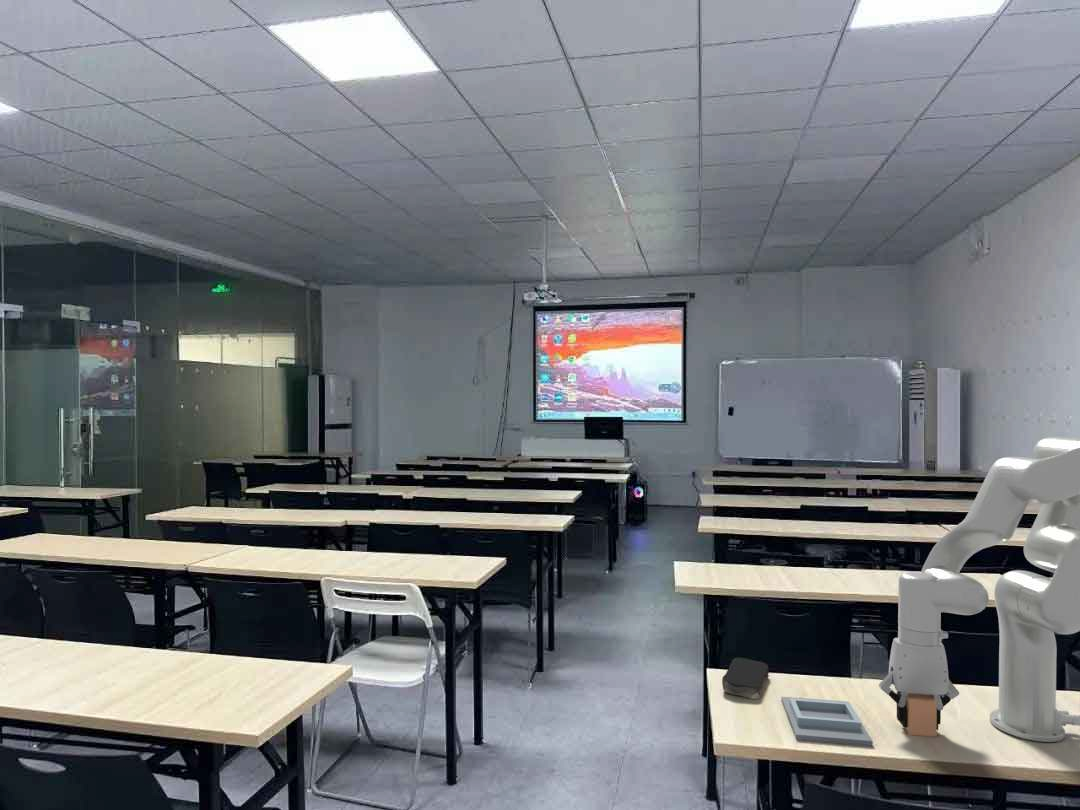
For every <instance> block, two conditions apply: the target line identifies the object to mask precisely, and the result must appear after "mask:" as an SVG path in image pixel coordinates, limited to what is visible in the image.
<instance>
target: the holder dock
mask: <svg viewBox="0 0 1080 810" xmlns="http://www.w3.org/2000/svg"><path fill="white" fill-rule="evenodd" d="M780 698H781V700H780V702H781V704H782V707H783V710H784V712H785V714H786V717H787V719H788V723H789V725H790V727H791V730H792V733H793V735H794V739H795V740H797V741H805V742H806V741H808V742H817V743H818V742H819V743H820V742H821V743H830V744H831V743H832V744H843V745H853V746H866V747H873V746H874V740H873V738H872V737H871V736H870V734H869V733H868V731H867V730H866V728H865V726H864V725H863V722H862V721H861V719H860V717H859V716H858V714H857V713H856V711H855V709H854V708H853V706H852V705H851V703H850V702H849V701H845V700H844V701H843V700H831V699H820V698H805V697H793V696H791V697H790V696H781V697H780Z"/></svg>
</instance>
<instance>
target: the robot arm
mask: <svg viewBox="0 0 1080 810" xmlns="http://www.w3.org/2000/svg"><path fill="white" fill-rule="evenodd" d="M991 465H992V466H990V468H989V470H988V471H987V472H988V473H987V474H986V476H985V478H984V480H983V482H982V484H981V487H980V488H979V490H978V492H977V494H976V497H975V498H974V500H973V502H972V505H971V507H970V509H969V510H968V513H967V514H966V516H965V518H964V519H963V520H962V521H961V522H959V523H958V524H957V525H955V526H954V527H953V528H952V529H951V530H949V531H948V532H947V533H946V534H945V535H943V536H942V537H941V538H940V539H939V540H938V541H937V543H935V545H934V546H933V547H932V549H931V551H930V552H929V553H928V556H927V558H926V559H925V562H924V564H923V567H922V568H921V572H918V571H909V572H904V573H902V574H900V576H899V577H898V598H897V599H898V603H897V605H898V606H897V607H898V610H897V611H898V614H897V618H898V619H897V623H898V624H897V625H898V626H897V629H898V631H897V637H894V638H893V641H892V644H891V649H890V655H889V665H888V674H887V675H886V676H885V677H884V679H882V681H881V682H880V683H879V684H878V687H879V688H880V690H881V691H883V692H884V693H885V694H886V695H888V696H889V697H890V698H891V699H892V700H893V701H894V702H895V703H896V719H897V721H898V722H899V723H900V724H901V726H902V727H903V728H904V729H905V728H907V721H908V709H907V707H906V701H907V697H908V695H909V694H922V695H931V696H932V697H933V698H934V699H935V700H936V701H937V728H936V731H938V730H939V725H941V719H942V718H941V715H942V714H941V713H942V711H943V709H944V707H945V706H946V705H947V704H949V703H950V701H951V700H953V699H955V698H956V697H958V696H959V695H960V691H959V690H958V688H956V686H955V685H954V684H953V683H952V681H951V680H950V679H949V669H948V668H949V667H948V659H947V654H946V649H945V646H944V644H943V643H942V640H944V639H948V638H949V633H948V631H946V630H945V631H944V630H942V629H941V625H942V624H941V622H942V621H941V619H942V617H941V613H948V614H955V615H959V616H960V615H962V616H972V615H977V614H978V613H981V612H982V611H983V610H985V609H986V607H987V606H988V603H989V599H990V596H989V593H988V590H987V589H986V587H985V586H984V585H983V584H982V583H981V582H979V581H978V580H976V579H975V578H972V577H970V576H968V575H965V574H963V573H960V571H961V570H962V568H963V566H964V565H965V563H966V562H967V561H968V560H969V558H971V557H972V556H973V555H974V554H976V553H978V552H980V551H981V550H983V549H987V548H990V547H993V546H997V545H1000V544H1003V543H1006V542H1008V541H1010V540H1011V539H1012V537H1013V536H1014V533H1015V531H1016V529H1017V528H1018V525H1019V523H1020V521H1021V520H1022V517H1023V515H1024V513H1025V511H1026V509H1027V507H1028V505H1029V504H1030V502H1031V503H1037V504H1041V506H1040V507H1041V508H1040V509H1039V512H1038V514H1037V516H1036V518H1035V520H1034V522H1033V525H1032V526H1031V528H1030V530H1029V533H1028V535H1027V537H1026V539H1025V542H1024V543H1023V554H1024V557H1025V560H1027V561H1028V562H1029V563H1030V564H1031V565H1033V566H1035V567H1037V568H1038V569H1042V570H1045V571H1048V572H1051V573H1053V575H1052V578H1050V577H1047V576H1044V575H1041V574H1038V573H1035V572H1032V571H1029V570H1021V569H1015V570H1011V571H1008V572H1005V573H1003V574H1002V575H1000V576H999V578H998V580H997V581H996V583H995V586H994V603H995V607H996V611H997V617H998V630H999V647H998V649H999V650H998V651H999V652H998V657H999V658H998V709H995V710H993V711H991V712H990V714H989V722H990V723H991V724H992V726H994V727H995V728H997V729H998V730H1000V731H1002V732H1004V733H1006V734H1009V735H1012V736H1014V737H1017V738H1020V739H1025V740H1028V741H1034V742H1041V743H1054V742H1060V741H1062V740H1064V739H1065V737H1066V730H1065V728H1064V727H1065V726H1067V725H1071V726H1079V727H1080V714H1079V715H1078V714H1077V715H1076V714H1069V711H1068V710H1058V708H1056V705H1057V641H1056V636H1055V633H1056V634H1059V635H1072V634H1076V633H1078V632H1080V437H1071V436H1050V437H1045V438H1043V439H1041V440H1039V441H1038V442H1037V443H1036V444H1035V446H1034V447H1033V450H1032V457H1024V456H1006V457H1002V458H999V459H997V460H995V462H994V463H993V464H991ZM892 685H893V686H894V689H895V690H896V692H895V691H894V690H893V689H892V688H891V686H892Z"/></svg>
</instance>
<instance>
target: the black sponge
mask: <svg viewBox="0 0 1080 810" xmlns="http://www.w3.org/2000/svg"><path fill="white" fill-rule="evenodd" d="M768 674H769V665H768V664H767V663H766V662H762V661H758V660H753V659H750V658H749V659H748V658H744V657H734V658H733V659H732V660H731V663H730V665H729V668H728V669H727V670H726V672H725V674H724V675H723V676H722V677H721V679H722V680H721V681H722V682H721V683H722V690H723V691H724V692H726V693H729V694H731V695H736V696H739V697H744V698H747V699H752V700H759V699H760V698H761V692H762V689H763V686H764V685H765V681H766V679H767V680H768V678H769V677H770V674H769V675H768Z"/></svg>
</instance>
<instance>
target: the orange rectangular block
mask: <svg viewBox="0 0 1080 810" xmlns="http://www.w3.org/2000/svg"><path fill="white" fill-rule="evenodd" d="M906 707H907V709H908V721H907V728H904V730H905V731H906V732H907V734H908V735H911V736H922V737H933V738H934V737H935V738H936V737H937V730H936V728H937V701H936V700H935V699H934V698H933V697H932V696H931V695H922V694H909V695H908V697H907V701H906Z"/></svg>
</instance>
